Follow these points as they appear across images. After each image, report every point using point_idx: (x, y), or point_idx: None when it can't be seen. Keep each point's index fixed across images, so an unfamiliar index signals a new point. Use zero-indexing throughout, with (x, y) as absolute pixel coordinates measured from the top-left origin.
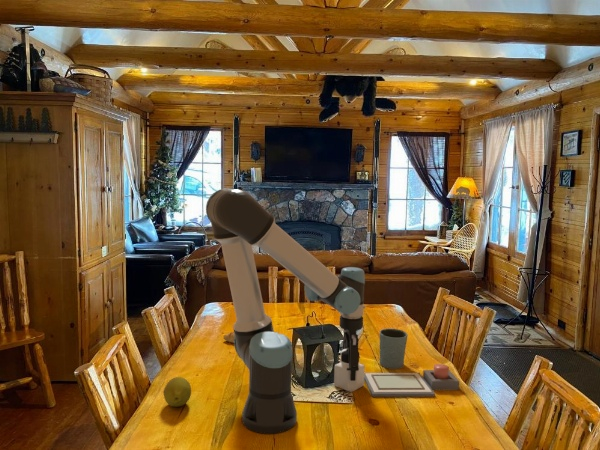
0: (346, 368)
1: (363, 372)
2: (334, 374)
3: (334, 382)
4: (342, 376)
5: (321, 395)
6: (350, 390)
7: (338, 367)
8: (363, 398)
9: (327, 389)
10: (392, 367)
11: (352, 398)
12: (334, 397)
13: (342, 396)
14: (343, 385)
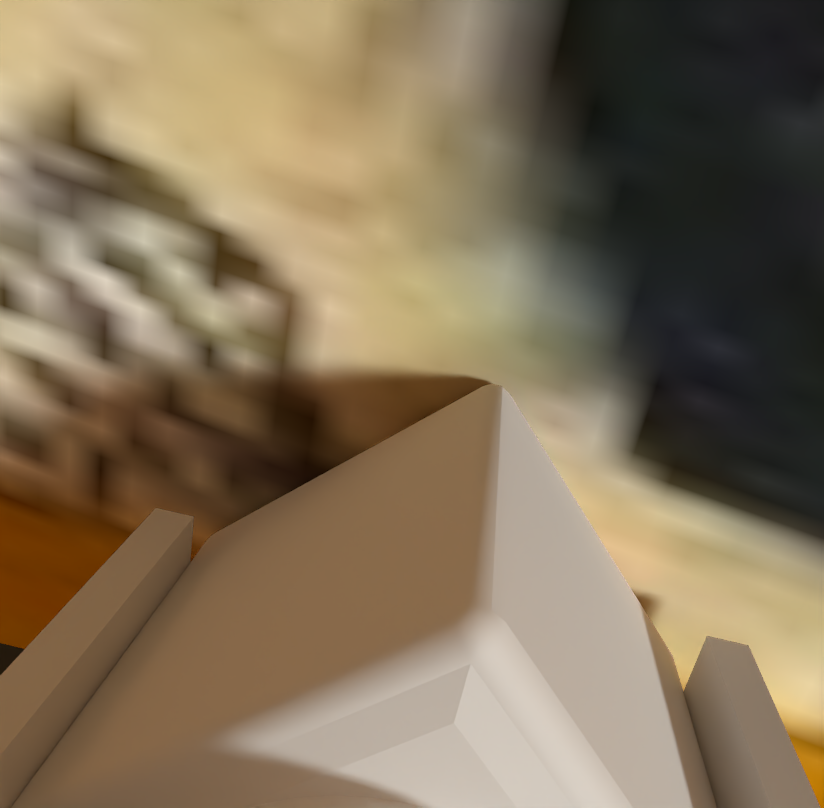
0: (135, 801)
1: None
2: (484, 471)
3: (479, 402)
4: (282, 582)
5: (139, 8)
6: (205, 544)
7: (340, 655)
8: (28, 610)
9: (370, 210)
10: None
11: (26, 481)
12: (58, 230)
13: (90, 368)
14: (304, 502)
